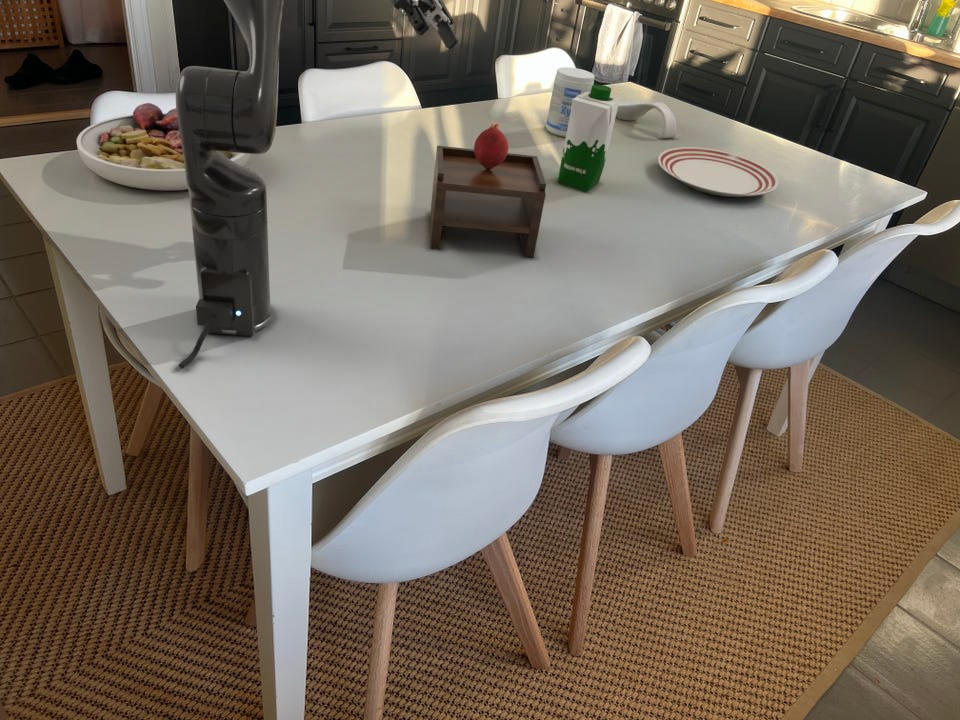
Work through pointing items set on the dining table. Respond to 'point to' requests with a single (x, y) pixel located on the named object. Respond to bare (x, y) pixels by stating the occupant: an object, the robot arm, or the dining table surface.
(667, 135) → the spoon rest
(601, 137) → the milk carton
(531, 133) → the dining table surface
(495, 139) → the onion
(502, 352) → the dining table surface
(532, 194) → the shelf stand
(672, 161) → the dinner plate
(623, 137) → the dining table surface
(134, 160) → the bowl
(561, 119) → the supplement tub
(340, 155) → the dining table surface
